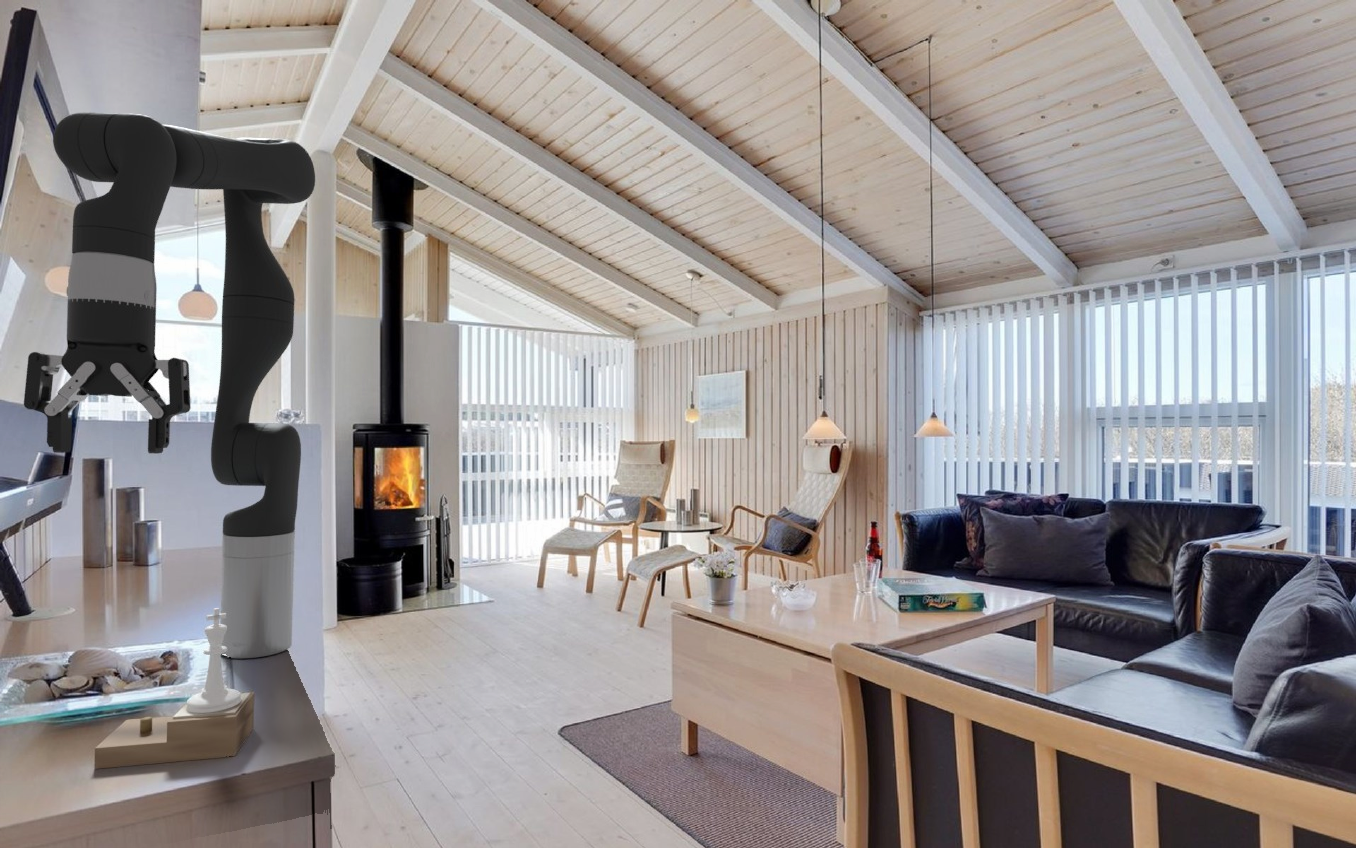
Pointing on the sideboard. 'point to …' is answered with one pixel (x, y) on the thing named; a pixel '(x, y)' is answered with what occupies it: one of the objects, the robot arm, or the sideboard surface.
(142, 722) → the stepped wooden block
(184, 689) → the sideboard surface
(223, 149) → the robot arm
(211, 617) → the chess piece
